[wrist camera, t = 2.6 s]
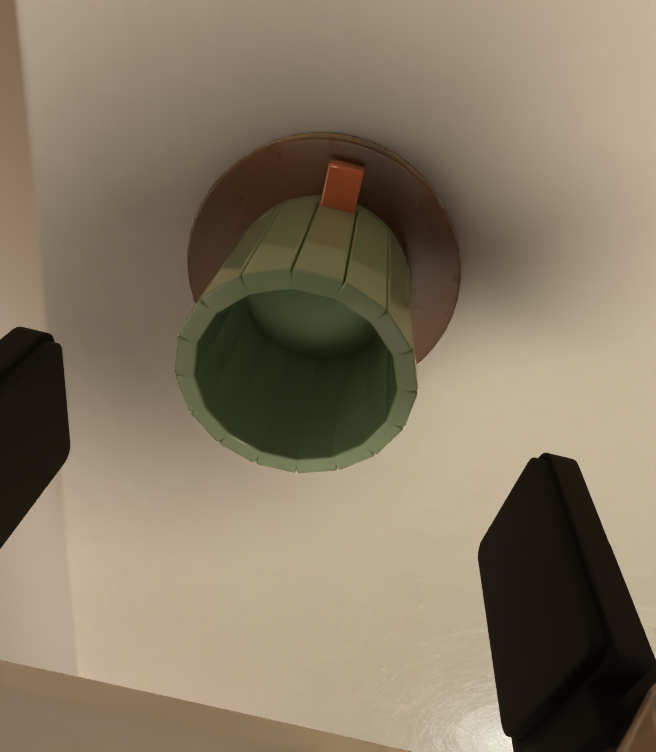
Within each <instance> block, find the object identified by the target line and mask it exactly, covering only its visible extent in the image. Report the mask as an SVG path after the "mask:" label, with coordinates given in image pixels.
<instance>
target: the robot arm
mask: <svg viewBox="0 0 656 752" xmlns="http://www.w3.org/2000/svg"><path fill="white" fill-rule="evenodd" d="M69 451H70V435H69V423H68V412H67V400H66V389H65V377H64V365H63V354H62V347H61V345H60V344H58V343H55V341H54V338H53V336H52V335H51V334H49V333H45V332H41V331H37V330H33V329H28V328H25V327H16V328H15V329H13V330H12V331H10V332H9V333H8V334H7V335H5V336H4V337H3V338H2V339H0V549H1V547H2V546H3V545H4V543H5V542H6V541H7V539H8V538H9V536H10V535H11V534H12V532H13V531H14V530H15V529H16V527H17V526H18V525H19V523H20V522H21V520H22V519H23V518H24V516H25V515H26V514H27V512H28V511H29V510H30V508H31V507H32V506H33V504H34V503H35V502H36V500H37V499H38V498H39V496H40V495H41V494H42V492H43V491H44V490H45V488H46V487H47V486H48V484H49V483H50V481H51V480H52V479H53V478H54V476H55V475H56V474H57V472H58V471H59V470H60V468H61V467H62V466H63V464H64V463H65V461H66V459H67V457H68V455H69ZM478 562H479V569H480V576H481V583H482V590H483V597H484V604H485V611H486V618H487V625H488V632H489V639H490V646H491V653H492V661H493V668H494V675H495V682H496V689H497V696H498V703H499V710H500V717H501V724H502V728H503V731H504V733H505V734H506V736H508V737H511V738H512V745H513V751H514V752H656V659H655V657H654V654H653V652H652V649H651V647H650V644H649V642H648V639H647V636H646V634H645V631H644V629H643V626H642V624H641V621H640V619H639V616H638V614H637V611H636V609H635V606H634V604H633V601H632V598H631V596H630V593H629V591H628V588H627V586H626V583H625V581H624V578H623V576H622V573H621V571H620V568H619V566H618V563H617V560H616V558H615V555H614V553H613V550H612V548H611V546H610V544H609V542H608V539H607V536H606V534H605V531H604V529H603V526H602V524H601V521H600V519H599V516H598V514H597V511H596V509H595V506H594V503H593V501H592V498H591V496H590V493H589V491H588V488H587V486H586V483H585V481H584V478H583V475H582V473H581V470H580V468H579V465H578V464H577V462H576V461H575V460H573V459H570V458H566V457H562V456H558V455H554V454H549V453H543V454H542V455H540V457H539V458H532V459H530V460H529V462H528V463H527V465H526V467H525V468H524V470H523V472H522V473H521V475H520V477H519V478H518V480H517V482H516V484H515V485H514V487H513V489H512V490H511V492H510V494H509V495H508V497H507V499H506V500H505V502H504V504H503V506H502V507H501V509H500V511H499V512H498V514H497V516H496V517H495V519H494V521H493V522H492V524H491V526H490V527H489V529H488V531H487V533H486V534H485V536H484V538H483V539H482V541H481V543H480V546H479V551H478ZM0 752H411V751H406V750H402V749H398V748H393V747H389V746H384V745H380V744H376V743H371V742H367V741H363V740H358V739H354V738H349V737H345V736H341V735H336V734H332V733H328V732H323V731H319V730H314V729H310V728H306V727H301V726H297V725H292V724H288V723H283V722H279V721H274V720H270V719H265V718H261V717H257V716H252V715H248V714H243V713H239V712H234V711H230V710H225V709H221V708H216V707H212V706H207V705H203V704H198V703H194V702H189V701H185V700H180V699H176V698H171V697H167V696H162V695H158V694H153V693H149V692H144V691H140V690H135V689H131V688H126V687H122V686H117V685H113V684H108V683H104V682H99V681H94V680H90V679H85V678H81V677H76V676H71V675H67V674H62V673H57V672H53V671H48V670H44V669H39V668H35V667H30V666H26V665H21V664H16V663H12V662H7V661H2V660H0Z"/></svg>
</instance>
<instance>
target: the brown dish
mask: <svg viewBox="0 0 656 752" xmlns="http://www.w3.org/2000/svg"><path fill="white" fill-rule="evenodd" d="M332 159H334V160H338V161H342V162H346V163H350V164H354V165H358V166H362V167H364V168H365V172H364V176H363V181H362V185H361V189H360V193H359V197H358V201H357V204H358V205H360V206H362V207H364V208H366V209H367V210H369V211H370V212H372V213H374V214H375V215H376V216H377V217H379V218H380V219H381V220H382V221H383V222H384V223H385V224H386V225H387V226H388V227H389V228H390V229H391V230H392V232H393V233H394V235H395V236H396V238H397V239H398V241H399V242H400V244H401V246H402V248H403V250H404V253H405V256H406V259H407V262H408V266H409V272H410V283H411V292H412V305H413V320H414V335H415V349H416V364H418V363H419V362H420V361H421V360H422V359H423V358H425V357H426V356H427V355H428V353H429V352H430V351H431V350H432V349H433V348H434V346H435V345H436V344H437V343H438V341H439V340H440V338H441V337H442V335H443V333H444V332H445V330H446V328H447V326H448V324H449V322H450V320H451V318H452V316H453V313H454V310H455V307H456V303H457V300H458V295H459V289H460V282H461V263H460V255H459V247H458V243H457V240H456V236H455V233H454V229H453V225H452V223H451V220H450V218H449V216H448V213H447V211H446V209H445V207H444V205H443V203H442V202H441V200H440V198H439V197H438V195H437V194H436V192H435V190H434V189H433V188H432V187H431V186H430V184H429V183H428V182H427V181H426V180H425V178H424V177H423V176H422V175H421V174H420V173H419V172H418V171H416V170H415V169H414V168H413V167H412V166H411V165H410V164H409V163H407V162H406V161H404V160H403V159H402V158H400V157H399V156H397V155H396V154H394V153H393V152H391V151H389V150H387V149H385V148H383V147H381V146H379V145H377V144H375V143H372V142H369V141H366V140H363V139H360V138H357V137H353V136H348V135H342V134H336V133H306V134H297V135H292V136H288V137H284V138H281V139H277V140H274V141H272V142H270V143H267V144H265V145H262V146H260V147H258V148H256V149H255V150H253V151H252V152H250V153H248V154H247V155H245V156H243V157H242V158H241V159H240V160H238V161H237V162H236V163H235V164H234V165H232V166H231V167H230V168H229V169H228V170H227V171H226V172H225V173H223V175H222V176H221V177H220V178H219V179H218V180H217V181H216V182H215V184H214V185H213V186H212V187H211V189H210V190H209V192H208V193H207V195H206V196H205V198H204V199H203V201H202V203H201V205H200V207H199V209H198V211H197V214H196V216H195V218H194V222H193V225H192V229H191V232H190V237H189V244H188V275H189V282H190V287H191V290H192V294H193V298H194V301H195V304H196V303H197V301H198V300H199V298H200V297H201V296H202V294H203V293H204V291H205V290H206V288H207V287H208V285H209V284H210V283H211V281H212V280H213V278H214V277H215V275H216V274H217V272H218V271H219V269H220V268H221V267H222V265H223V264H224V262H225V261H226V259H227V258H228V256H229V255H230V254H231V252H232V251H233V249H234V248H235V246H236V245H237V243H238V242H239V240H240V239H241V238H242V236H243V235H244V233H245V232H246V230H247V229H248V227H250V226H251V225H252V223H254V222H255V221H256V220H257V219H258V218H259V217H260V216H261V215H262V214H264V213H265V212H266V211H267V210H269V209H271V208H272V207H274V206H276V205H278V204H280V203H282V202H285V201H287V200H290V199H294V198H298V197H303V196H313V195H320V196H322V192H323V188H324V183H325V178H326V173H327V168H328V164H329V162H330V160H332Z"/></svg>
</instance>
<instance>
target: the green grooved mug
mask: <svg viewBox="0 0 656 752" xmlns="http://www.w3.org/2000/svg"><path fill="white" fill-rule="evenodd" d="M364 172H365V168H364V167H362V166H358V165H354V164H350V163H346V162H342V161H338V160H334V159H332V160H330V162H329V164H328V168H327V173H326V178H325V183H324V188H323V192H322V196H320V195H313V196H303V197H298V198H294V199H290V200H287V201H285V202H282V203H280V204H278V205H276V206H274V207H272V208H271V209H269V210H267V211H266V212H265V213H264V214H262V215H261V216H260V217H259V218H258V219H257V220H256V221H255V222H254V223H252V225H251V226H250V227H248V229H247V230H246V232H245V233H244V235H243V236H242V238H241V239H240V240H239V242H238V243H237V245H236V246H235V248H234V249H233V251H232V252H231V254H230V255H229V256H228V258H227V259H226V261H225V262H224V264H223V265H222V267H221V268H220V269H219V271H218V272H217V274H216V275H215V277H214V278H213V280H212V281H211V283H210V284H209V285H208V287H207V288H206V290H205V291H204V293H203V294H202V296H201V297H200V298H199V300H198V301H197V303H196V305H195V306H194V308H193V310H192V311H191V313H190V314H189V316H188V318H187V319H186V321H185V323H184V324H183V326H182V328H181V329H180V331H179V335H178V337H177V348H176V364H175V373H176V374H177V375H176V379H177V381H178V384H179V386H180V389H181V391H182V394H183V396H184V399H185V401H186V404H187V407H188V409H189V411H192V412H191V414H192V415H193V416H194V417H195V419H196V420H197V421H198V422H199V423H200V424H201V425H202V426H203V427H204V428H205V429H206V430H207V432H208V433H209V434H210V435H211V436H212V437H213V438H214V439H215V440H216V441H220V444H221V445H223V446H224V447H226V448H228V449H230V450H232V451H233V452H235V453H237V454H239V455H240V456H242V457H244V458H246V459H248V460H249V461H251V462H255V461H256V460H257V461H256V462H257V464H259V465H263V466H267V467H272V468H276V469H281V470H285V471H289V472H295V471H296V469H297V472H298V473H306V472H321V471H335V470H337V467H338V469H343V468H345V467H348V466H350V465H353V464H355V463H358V462H360V461H363V460H365V459H368V458H370V457H373V456H374V453H375V454H378V453H379V452H380V451H381V450H382V449H383V448H384V447H385V446H386V445H387V444H388V443H389V442H390V441H391V440H392V439H393V438H394V437H395V436H397V435H398V434H399V433H400V432H401V431H402V429H403V427H404V426H405V425H406V422H407V420H408V417H409V414H410V412H411V409H412V407H413V404H414V401H415V399H416V396H417V390H418V379H417V364H416V349H415V335H414V320H413V305H412V292H411V283H410V272H409V266H408V262H407V259H406V256H405V253H404V250H403V248H402V246H401V244H400V242H399V241H398V239H397V238H396V236H395V235H394V233H393V232H392V230H391V229H390V228H389V227H388V226H387V225H386V224H385V223H384V222H383V221H382V220H381V219H380V218H379V217H377V216H376V215H375V214H374V213H372V212H370V211H369V210H367V209H366V208H364V207H362V206H360V205H358V204H357V201H358V197H359V193H360V189H361V185H362V181H363V176H364Z"/></svg>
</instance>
